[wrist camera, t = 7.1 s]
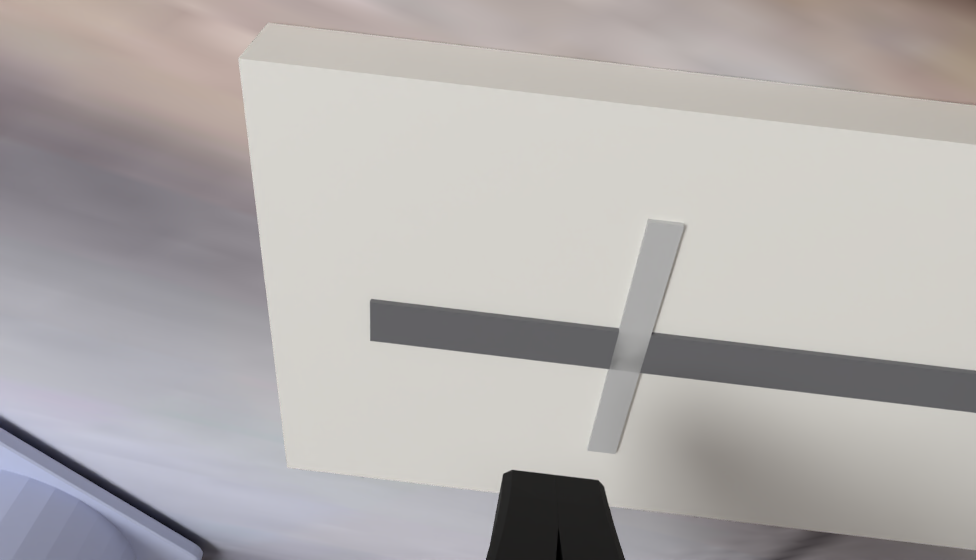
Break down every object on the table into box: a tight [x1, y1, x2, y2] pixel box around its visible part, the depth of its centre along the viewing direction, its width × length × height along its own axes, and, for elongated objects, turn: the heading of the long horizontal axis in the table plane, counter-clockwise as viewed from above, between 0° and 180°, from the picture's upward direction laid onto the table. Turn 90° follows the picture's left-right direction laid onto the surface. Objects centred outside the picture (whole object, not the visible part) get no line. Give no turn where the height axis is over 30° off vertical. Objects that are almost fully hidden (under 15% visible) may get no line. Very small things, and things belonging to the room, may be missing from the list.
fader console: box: [238, 23, 976, 550], centre depth 15 cm, size 22×10×2 cm, turn 85°
